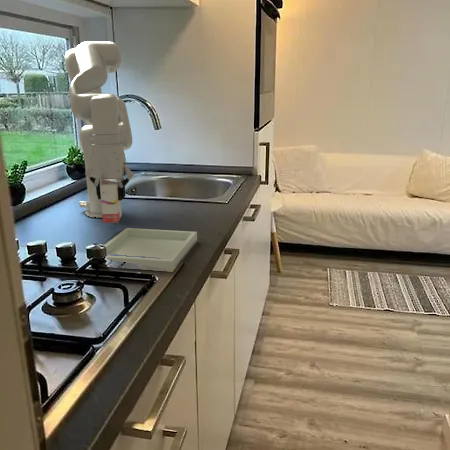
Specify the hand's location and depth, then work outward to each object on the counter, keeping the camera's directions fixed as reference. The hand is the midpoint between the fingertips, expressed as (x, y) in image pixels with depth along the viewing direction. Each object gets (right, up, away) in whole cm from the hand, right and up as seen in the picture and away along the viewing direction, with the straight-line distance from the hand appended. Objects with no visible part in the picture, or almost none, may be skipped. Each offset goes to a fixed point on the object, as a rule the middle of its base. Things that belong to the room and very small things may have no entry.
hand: (111, 198), depth 146 cm
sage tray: (+13, -16, -13) cm, 25 cm away
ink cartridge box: (0, -6, +2) cm, 7 cm away
